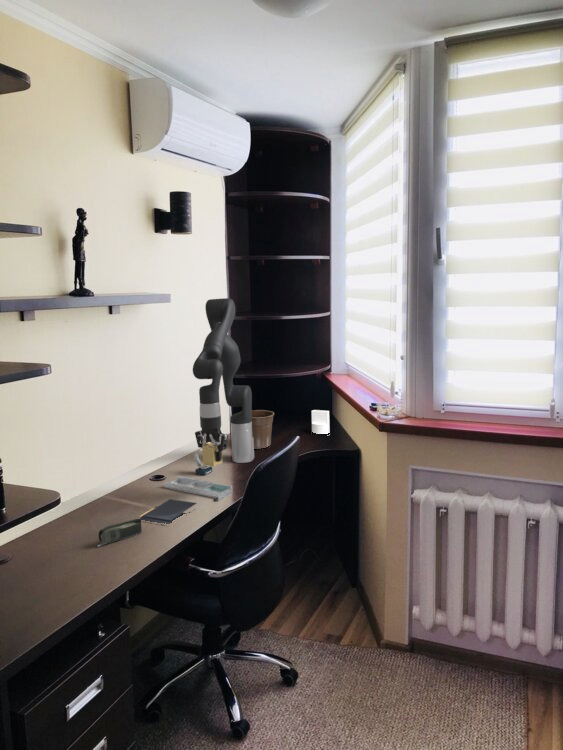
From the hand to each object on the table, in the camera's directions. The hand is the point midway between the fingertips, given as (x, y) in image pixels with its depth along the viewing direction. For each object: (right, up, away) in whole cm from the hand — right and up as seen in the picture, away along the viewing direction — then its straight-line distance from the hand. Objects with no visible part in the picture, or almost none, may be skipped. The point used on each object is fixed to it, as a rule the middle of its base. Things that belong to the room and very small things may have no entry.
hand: (212, 460), depth 210 cm
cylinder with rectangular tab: (+45, +1, +84) cm, 95 cm away
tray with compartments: (-6, -13, +6) cm, 16 cm away
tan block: (0, -1, 0) cm, 1 cm away
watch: (-6, -10, +25) cm, 28 cm away
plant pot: (+14, -3, +65) cm, 66 cm away
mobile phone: (-25, -20, -33) cm, 46 cm away
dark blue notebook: (-13, -17, -12) cm, 25 cm away
